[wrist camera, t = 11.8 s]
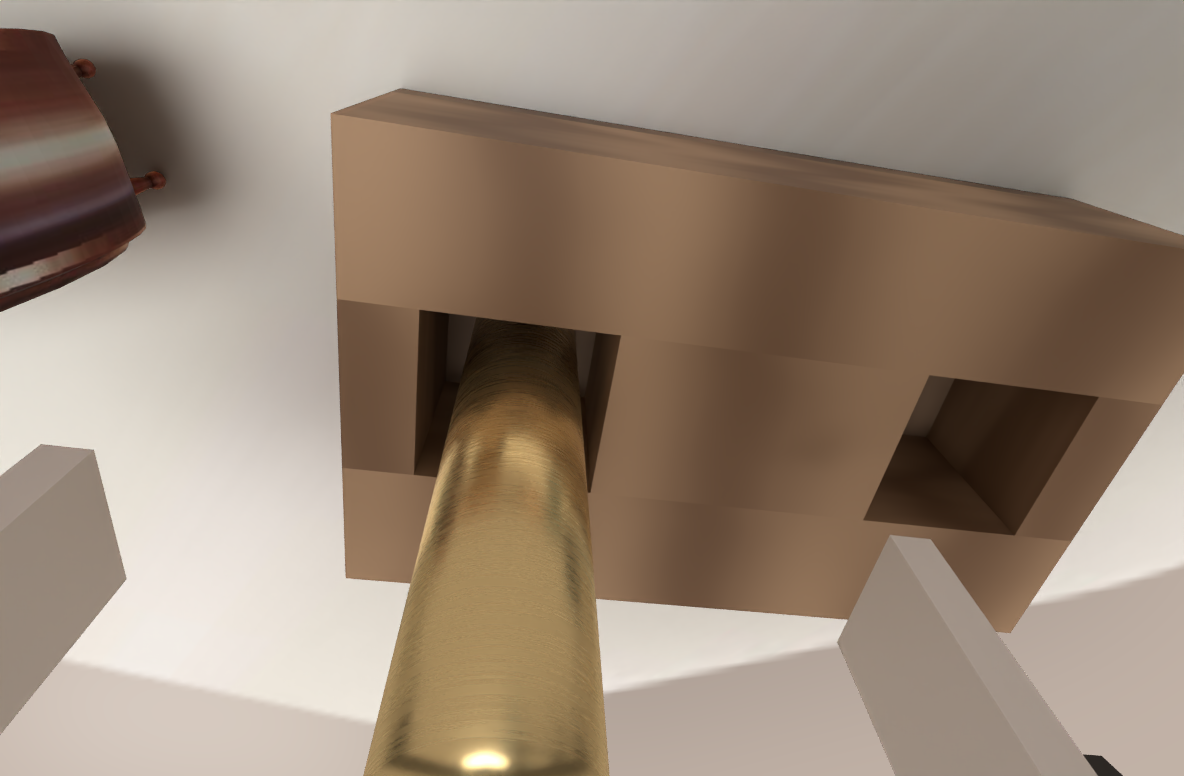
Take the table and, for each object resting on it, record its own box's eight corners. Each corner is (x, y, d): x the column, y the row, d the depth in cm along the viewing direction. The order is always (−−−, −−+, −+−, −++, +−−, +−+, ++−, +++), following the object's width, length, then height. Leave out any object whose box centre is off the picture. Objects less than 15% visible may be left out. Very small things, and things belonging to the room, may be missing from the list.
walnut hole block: (1072, 199, 20) (1258, 260, 14) (917, 508, 25) (1010, 633, 20) (400, 88, 17) (330, 113, 12) (394, 453, 23) (345, 578, 18)
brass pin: (581, 285, 19) (632, 744, 7) (567, 373, 21) (591, 877, 9) (479, 272, 19) (352, 734, 7) (472, 363, 20) (358, 875, 8)
